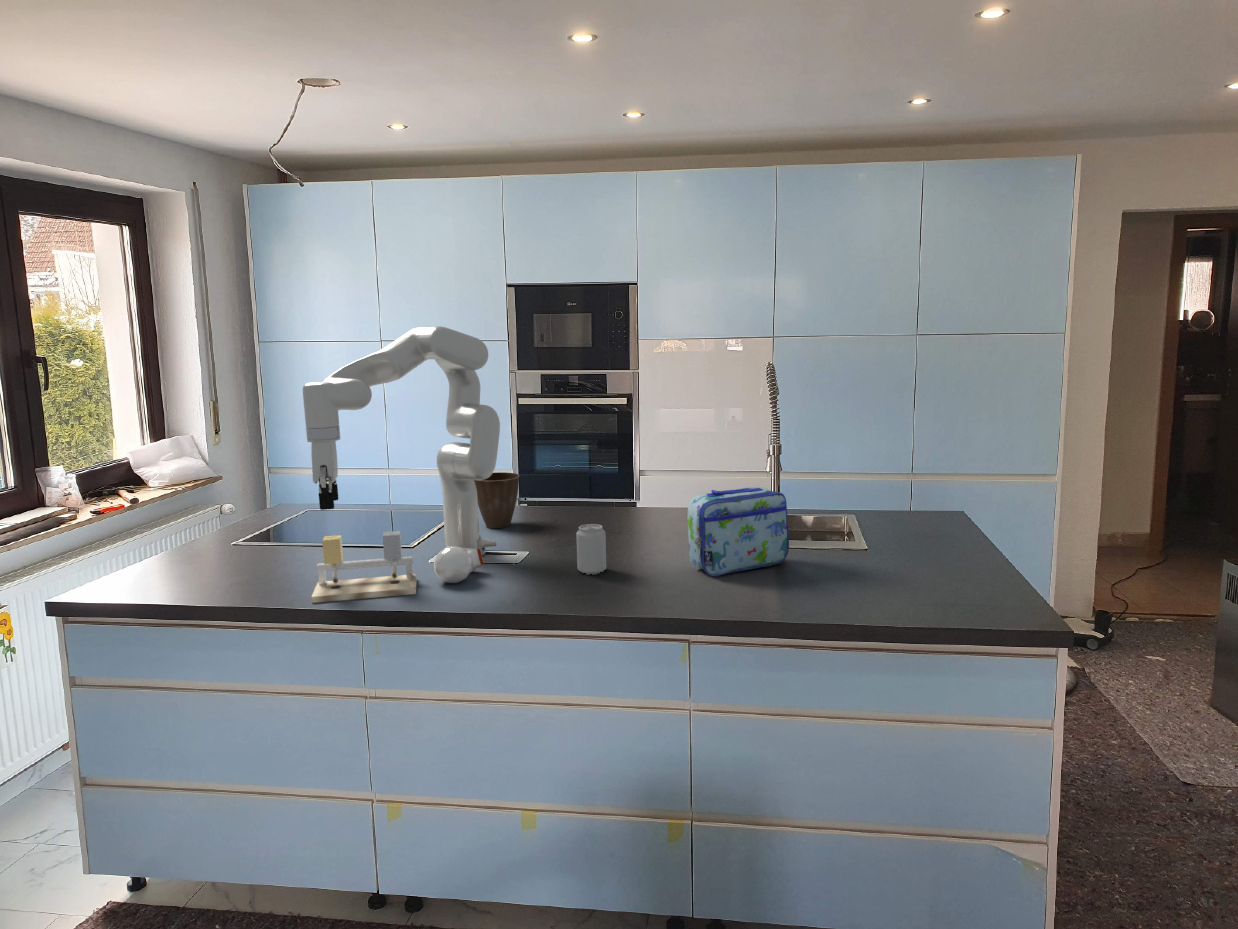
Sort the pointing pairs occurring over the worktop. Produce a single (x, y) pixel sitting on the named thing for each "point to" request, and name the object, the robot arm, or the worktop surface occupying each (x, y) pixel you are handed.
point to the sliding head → (333, 553)
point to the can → (591, 549)
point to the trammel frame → (390, 559)
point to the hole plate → (364, 588)
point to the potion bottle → (456, 563)
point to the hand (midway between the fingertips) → (329, 504)
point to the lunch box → (737, 530)
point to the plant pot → (497, 498)
